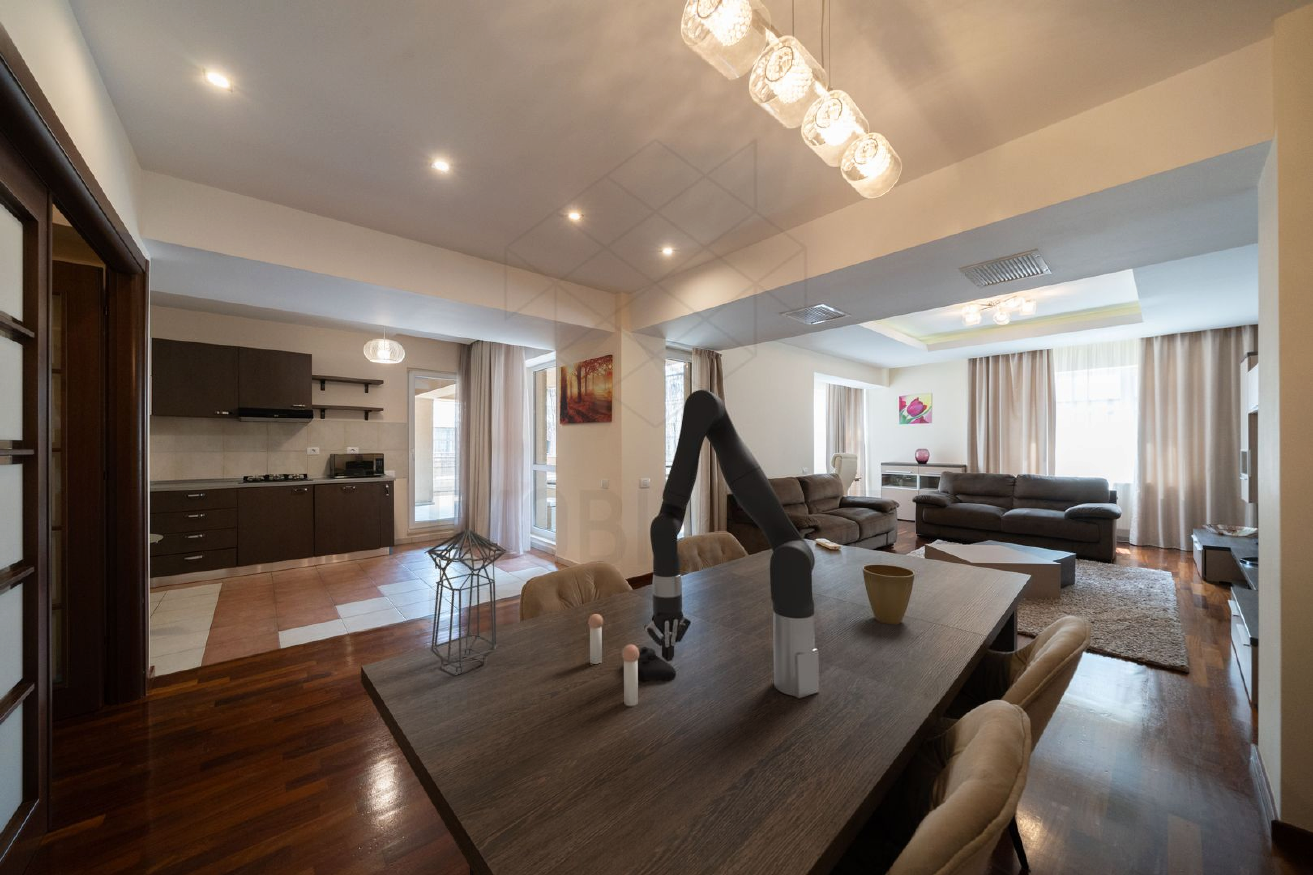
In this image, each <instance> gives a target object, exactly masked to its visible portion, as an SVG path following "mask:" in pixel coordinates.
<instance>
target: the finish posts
mask: <svg viewBox="0 0 1313 875" xmlns="http://www.w3.org/2000/svg"><path fill="white" fill-rule="evenodd" d="M603 625H604V618H603V617H602V616H601V615H600V614H599V613H594V614H592V615H590V617H589V618H588V626H589V656H590V657H589V660H590V661H589V664H590V663H593V664H598V663H601V664H602V663H603V654H602V653H603V649H602V648H603V647H602V645H603V644H602V642H603V639H602V637H603V636H602V634H603V633H602V629H603V628H602V626H603ZM624 646H625V645H624ZM638 649H639V648H638V647H637V646H636V645H634V644H632V643H631V644H630V643H629V644H627V645H626V646H625V647H623V649H622V651H621V656H622V659H623V695H624V696H623V700H624V703H623V704H624V705H625V706H627V707H635V706H637V705H638V703H639V685H638V684H639V682H638V658H639V650H638Z"/></svg>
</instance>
